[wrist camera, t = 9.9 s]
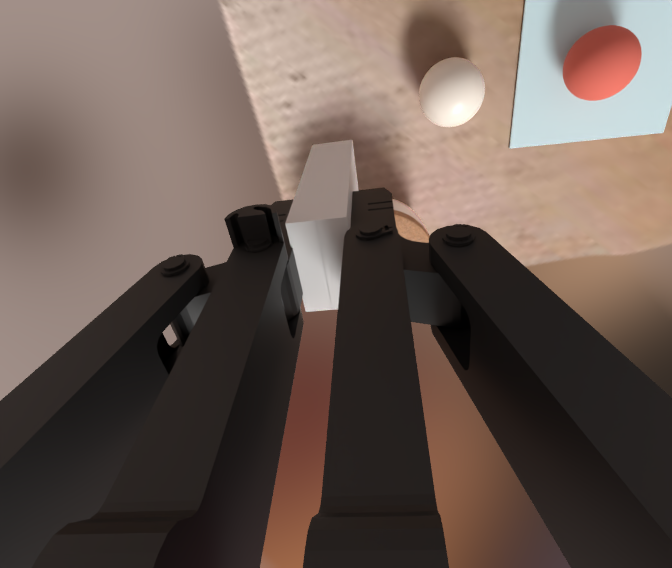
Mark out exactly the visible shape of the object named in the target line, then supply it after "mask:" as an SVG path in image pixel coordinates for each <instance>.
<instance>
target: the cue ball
mask: <svg viewBox="0 0 672 568" xmlns="http://www.w3.org/2000/svg"><path fill="white" fill-rule="evenodd" d="M484 94H485V83H484V78H483V76H482V73H481V71H480V70H479V69H478V67H477V66H476V65H475V64H474V63H472V62H471V61H469V60H467V59H464V58H459V57H452V58H447V59H444V60H441V61H439V62H438V63H436V64H435V65H433V66H432V67H431V68H430V69H429V71H428V72H427V73H426V74H425V76H424V78H423V80H422V82H421V85H420V90H419V102H420V106H421V109H422V111H423V113H424V115H425V116H426V117H427V118H428V119H429V120H430V121H431V122H433V123H434V124H436V125H439V126H442V127H454V126H458V125H461V124H463V123H465V122H467V121H468V120H470V119H471V118H472V117H473V116H474V115H475V114H476V112H477V111H478V110H479V108H480V106H481V104H482V102H483V98H484Z"/></svg>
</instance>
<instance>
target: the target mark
mask: <svg viewBox="0 0 672 568" xmlns="http://www.w3.org/2000/svg"><path fill="white" fill-rule="evenodd" d="M608 25H617V26H621V27H624V28H626V29H628V30H630V31H631V32H633V33H634V34H635V36H636V37H637V38H638V40H639V42H640V45H641V51H642V56H641V62H640V66H639V69H638V71H637V73H636V75H635V76H634V78H633V79H632V80H631V82H630V83H629V84H628V85H627V86H626V87H625V88H624V89H623V90H621V91H620V92H618V93H617V94H615V95H613V96H611V97H609V98H606V99H602V100H596V101H588V100H583V99H580V98H578V97H576V96H574V95H573V94H572V93H571V92H570V91H569V90H568V89H567V87H566V85H565V83H564V80H563V64H564V61H565V58H566V56H567V54H568V52H569V50H570V49H571V47H572V46H573V45H574V43H575V42H576V41H577V40H578V39H579V38H580V37H582V36H583V35H584V34H586V33H588V32H589V31H591V30H593V29H595V28H598V27H602V26H608ZM671 106H672V0H525V5H524V14H523V23H522V33H521V42H520V52H519V61H518V70H517V80H516V89H515V99H514V108H513V117H512V127H511V136H510V145H509V148H520V147H530V146H540V145H549V144H559V143H569V142H578V141H588V140H598V139H608V138H617V137H627V136H637V135H646V134H656V133H663V132H664V129H665V125H666V122H667V119H668V116H669V112H670V109H671Z"/></svg>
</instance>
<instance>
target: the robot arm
mask: <svg viewBox="0 0 672 568" xmlns="http://www.w3.org/2000/svg"><path fill="white" fill-rule="evenodd" d="M225 222H226V225H227V228H228V231H229V235H230V238H231V240H232V244H233V247H234V249H233V250H232V253H231V254H230V256H229V258H228V260H227V262H225V263H222V264H219V265H215V266H211V267H207V268H205V266H204V263H203V261H202V259H201V258H200V257H199V256H196V255H191V254H189V255H177V256H176V257H175V256H173V257H170V258H168V259H167V260H165V261H163V262H161V263H159V264H158V265H157V266H155V267H154V268H152V269H151V270H150V271H149V272H148V273H147V274H146V275H144V276H143V277H142V278H141V279H140V280H139V281H138V282H136V283H135V284H134V285H133V286H132V287H131V288H129V289H128V290H127V291H126V292H125V293H124V294H123V295H121V296H120V297H119V298H118V299H117V300H116V301H115V302H113V303H112V304H111V305H110V306H109V307H108V308H107V309H105V310H104V311H103V312H102V313H101V314H100V315H99V316H97V317H96V318H95V319H94V320H93V321H92V322H90V323H89V324H88V325H87V326H86V327H85V328H84V329H82V330H81V331H80V332H79V333H78V334H77V335H76V336H74V337H73V338H72V339H71V340H70V341H69V342H67V343H66V344H65V345H64V346H63V347H62V348H61V349H59V350H58V351H57V352H56V353H55V354H54V355H53V356H52V357H50V358H49V359H48V360H47V361H46V362H45V363H43V364H42V365H41V366H40V367H39V368H38V369H36V370H35V371H34V372H33V373H32V374H31V375H30V376H29V377H27V378H26V379H25V380H24V381H23V382H22V383H21V384H19V385H18V386H17V387H16V388H15V389H14V390H12V391H11V392H10V393H9V394H8V395H7V396H5V397H4V398H3V399H2V400H1V401H0V568H260V563H261V556H262V551H263V546H264V540H265V535H266V529H267V524H268V518H269V513H270V507H271V501H272V496H273V490H274V485H275V479H276V473H277V468H278V463H279V457H280V451H281V446H282V440H283V435H284V429H285V424H286V418H287V412H288V407H289V401H290V396H291V390H292V385H293V379H294V373H295V368H296V362H297V357H298V351H299V346H300V340H301V334H302V329H303V317H302V313H301V308H300V306H301V301H302V298H303V302H304V306H305V310H306V312H309V311H322V310H334V309H338V314H337V326H336V337H335V349H334V360H333V373H332V383H331V396H330V406H329V418H328V429H327V441H326V452H325V465H324V475H323V487H322V498H321V505H320V510H319V513H318V514H317V515H315V516H314V517H312V520H311V522H310V526H309V529H308V534H307V540H306V546H305V554H304V563H303V568H449V565H448V558H447V553H446V552H447V551H446V545H445V539H444V532H443V527H442V522H441V517H440V514H439V513H438V510H437V505H436V499H435V492H434V485H433V478H432V471H431V463H430V456H429V449H428V442H427V435H426V427H425V420H424V413H423V406H422V399H421V392H420V384H419V377H418V370H417V363H416V356H415V349H414V341H413V334H412V327H411V322H416V323H423V324H430V325H431V329H432V333H433V335H434V337H435V338H436V340H437V342H438V344H439V345H440V347H441V349H442V350H443V352H444V354H445V355H446V357H447V359H448V360H449V362H450V364H451V365H452V367H453V369H454V371H455V372H456V374H457V376H458V377H459V379H460V380H461V382H462V384H463V386H464V388H465V389H466V391H467V393H468V394H469V396H470V398H471V399H472V401H473V403H474V404H475V406H476V408H477V410H478V411H479V413H480V414H481V416H482V418H483V420H484V421H485V423H486V425H487V426H488V428H489V430H490V432H491V433H492V435H493V436H494V438H495V440H496V441H497V443H498V445H499V447H500V448H501V450H502V452H503V453H504V455H505V457H506V459H507V460H508V462H509V464H510V465H511V467H512V469H513V470H514V472H515V474H516V475H517V477H518V479H519V480H520V482H521V484H522V486H523V487H524V489H525V491H526V492H527V494H528V495H529V497H530V499H531V500H532V503H533V504H534V506H535V507H536V509H537V511H538V513H539V514H540V516H541V518H542V519H543V521H544V523H545V524H546V526H547V528H548V530H549V531H550V533H551V535H552V536H553V538H554V540H555V541H556V543H557V545H558V546H559V548H560V550H561V551H562V553H563V555H564V556H565V558H566V560H567V562H568V563H569V565H570V567H571V568H672V398H671V397H670V396H669V395H668V394H667V393H666V392H665V391H663V390H662V389H661V388H660V387H659V386H658V385H657V384H656V383H655V382H653V381H652V380H651V379H650V378H649V377H648V376H647V375H645V374H644V373H643V372H642V371H641V370H640V369H639V368H638V367H636V366H635V365H634V364H633V363H632V362H631V361H630V360H629V359H628V358H627V357H625V356H624V355H623V354H622V353H621V352H620V351H618V349H616V348H615V347H614V346H613V345H612V344H611V343H610V342H609V341H608V340H606V339H605V338H604V337H603V336H602V335H600V333H599V332H597V331H596V330H595V329H594V328H593V327H592V326H591V325H590V324H589V323H587V322H586V321H585V320H584V319H583V318H582V317H580V315H578V314H577V313H576V312H575V311H574V310H573V309H572V308H570V307H569V306H568V305H567V304H566V303H565V302H564V301H563V300H561V298H559V297H558V296H557V295H556V294H555V293H554V292H553V291H551V290H550V289H549V288H548V287H547V286H546V285H545V284H544V283H543V282H542V281H540V280H539V279H538V278H537V277H536V276H535V275H534V274H533V273H531V272H530V271H529V270H528V269H527V268H526V267H525V266H524V265H523V264H521V263H520V262H519V261H518V260H517V259H516V258H515V257H514V256H512V255H511V254H510V253H509V252H508V251H507V250H506V249H505V248H504V247H502V246H501V245H500V244H499V243H498V242H497V241H496V240H495V239H493V238H492V237H491V236H490V235H489V234H488V233H487V232H485V231H483V230H482V229H480V228H477V227H473V226H470V225H465V224H463V225H461V224H455V225H453V226H446V227H443V228H440V229H437V230H436V231H434V232H433V233H432V234H431V235H430V237H429V243H425V242H416V241H411V240H408V239H405V238H403V237H402V236H400V235H399V234H398V230H397V228H396V222H395V215H394V208H393V201H392V194H391V193H390V192H389V191H388V190H386V189H385V188H377V189H369V190H360V191H359V190H358V181H357V173H356V165H355V157H354V148H353V140H345V141H337V142H330V143H322V144H314V145H312V147H311V150H310V153H309V156H308V159H307V162H306V165H305V168H304V171H303V173H302V176H301V179H300V182H299V185H298V188H297V191H296V194H295V197H294V200H285V201H277V202H274V203H273V204H272V205H266V204H263V205H262V204H261V205H252V206H247V207H243V208H241V209H238V210H236V211H234V212H232V213H230V214H229V215H228V216H227V217H226V218H225ZM169 324H170V325H171V327H172V329H173V331H174V333H175V335H176V337H177V340H176V341H175V342H174V343H173V344H172V345H171V346H170V345H168V343H167V341H166V339H165V337H164V335H163V333H162V332H163V331H164V330H165V328H166V327H168V325H169Z"/></svg>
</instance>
